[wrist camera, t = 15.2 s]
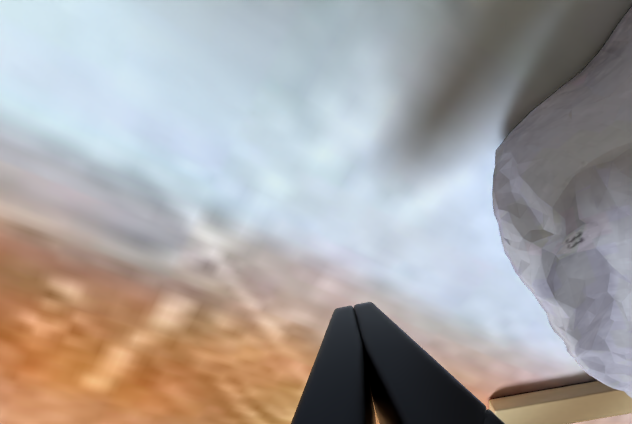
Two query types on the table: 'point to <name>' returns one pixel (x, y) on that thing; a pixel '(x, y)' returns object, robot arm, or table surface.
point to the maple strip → (562, 405)
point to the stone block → (577, 209)
